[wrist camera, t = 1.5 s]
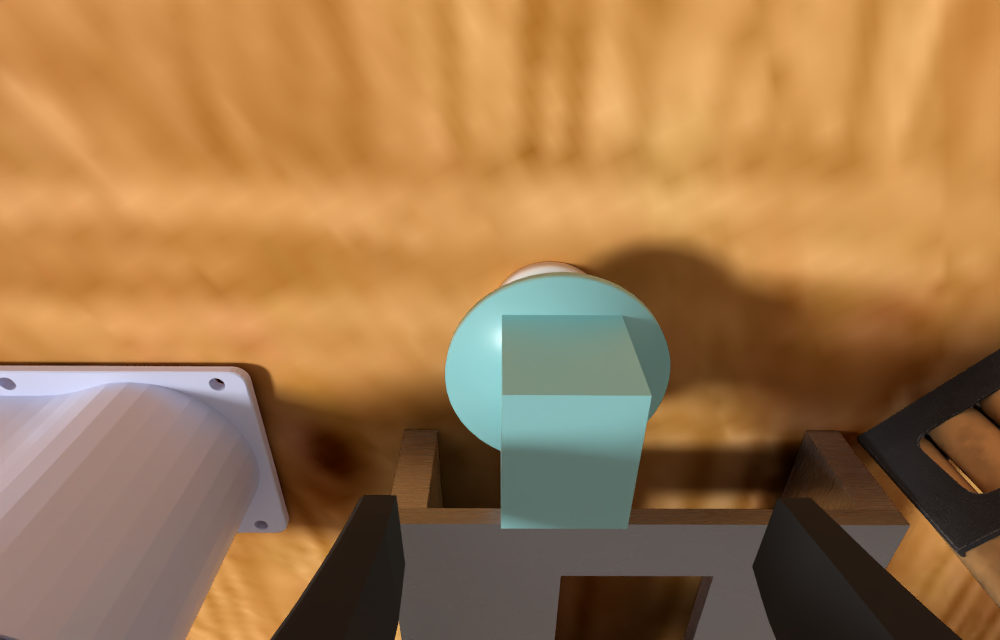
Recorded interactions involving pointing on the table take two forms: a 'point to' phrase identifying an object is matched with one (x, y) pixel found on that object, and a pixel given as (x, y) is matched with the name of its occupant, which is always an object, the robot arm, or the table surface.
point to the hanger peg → (560, 393)
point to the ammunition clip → (934, 481)
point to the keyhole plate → (609, 550)
